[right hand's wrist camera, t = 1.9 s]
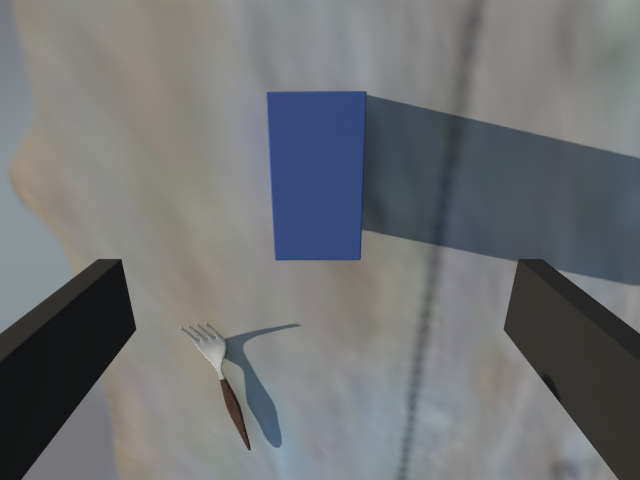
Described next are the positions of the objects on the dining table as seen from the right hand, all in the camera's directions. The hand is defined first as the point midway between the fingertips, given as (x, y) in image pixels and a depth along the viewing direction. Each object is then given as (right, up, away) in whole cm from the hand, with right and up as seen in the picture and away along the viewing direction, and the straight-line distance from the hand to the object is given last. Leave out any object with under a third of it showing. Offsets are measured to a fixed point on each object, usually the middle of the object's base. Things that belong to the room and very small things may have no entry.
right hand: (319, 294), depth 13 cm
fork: (-9, -12, +23) cm, 27 cm away
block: (0, +8, +15) cm, 17 cm away
